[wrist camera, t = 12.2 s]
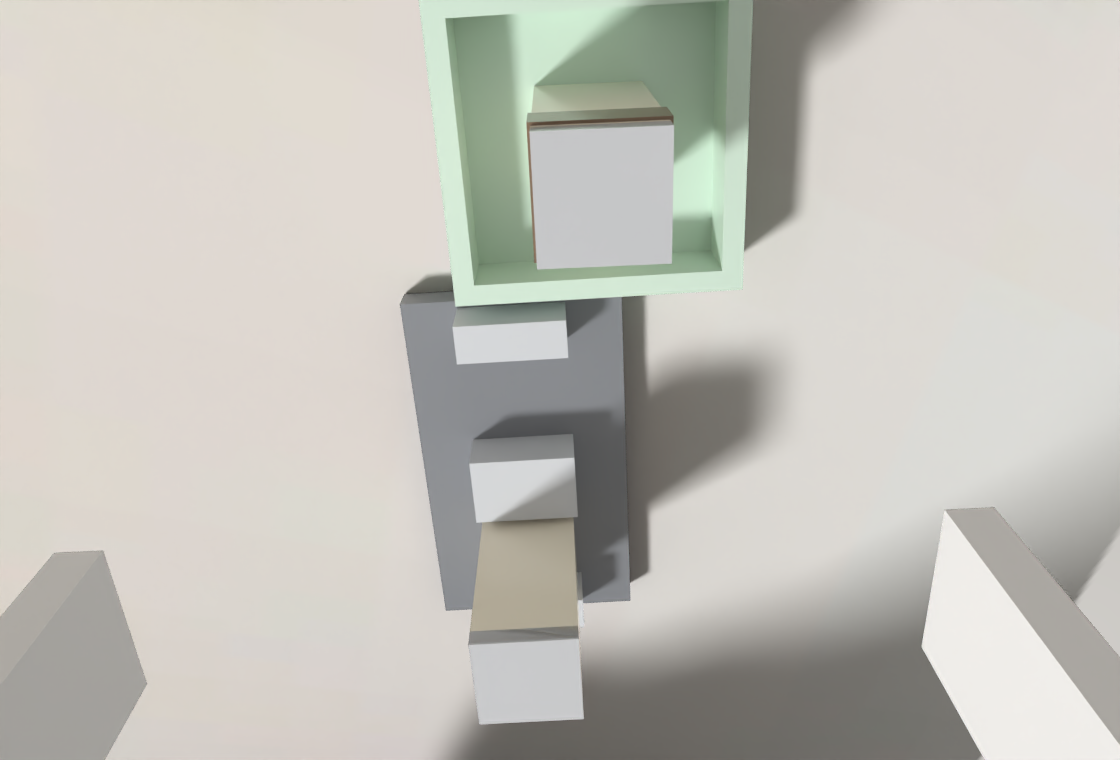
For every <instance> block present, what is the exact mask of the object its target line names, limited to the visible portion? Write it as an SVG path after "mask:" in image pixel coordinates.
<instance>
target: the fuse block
mask: <svg viewBox="0 0 1120 760" xmlns="http://www.w3.org/2000/svg"><path fill="white" fill-rule="evenodd" d="M400 308H401V315H402V321H403V328H404V335H405V341H406V348H407V355H408V361H409V368H410V374H411V381H412V388H413V394H414V401H415V408H416V414H417V421H418V428H419V434H420V441H421V448H422V454H423V461H424V468H425V474H426V481H427V488H428V494H429V501H430V508H431V514H432V521H433V528H434V534H435V541H436V548H437V554H438V561H439V567H440V574H441V581H442V587H443V594H444V601H445V607H446V611H448V610H467V609H473V600H474V591H475V583H476V574H477V565H478V556H479V548H480V539H481V530H482V522H498V521H516V520H534V519H552V518H569V517H574V531H575V547H576V563H577V583H578V604H579V625H580V627H584V610H583V603H595V602H614V601H630V570H629V536H628V501H627V467H626V432H625V398H624V364H623V329H622V297H609V298H592V299H575V300H558V301H541V302H525V303H508V304H491V305H474V306H457V307H455V298H454V291H448V292H431V293H414V294H404V296H403V299H402V301H401V303H400Z"/></svg>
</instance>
